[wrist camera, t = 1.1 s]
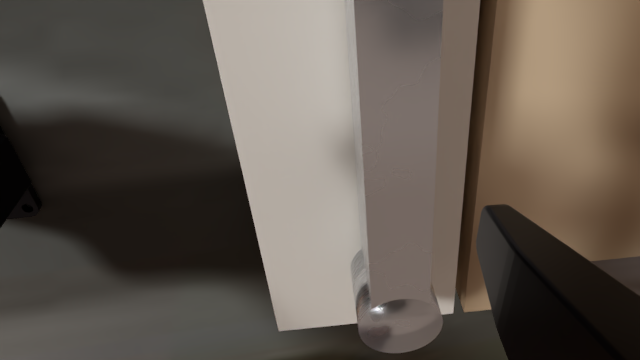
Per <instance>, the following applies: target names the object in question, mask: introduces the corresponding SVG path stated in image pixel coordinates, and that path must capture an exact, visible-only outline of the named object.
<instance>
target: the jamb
mask: <svg viewBox="0 0 640 360" xmlns="http://www.w3.org/2000/svg"><path fill="white" fill-rule="evenodd" d="M203 3H204V7H205V12H206V16H207V20H208V25H209V29H210V34H211V38H212V42H213V47H214V51H215V55H216V60H217V64H218V68H219V73H220V77H221V82H222V86H223V90H224V95H225V99H226V103H227V108H228V112H229V116H230V121H231V125H232V129H233V134H234V138H235V143H236V147H237V151H238V156H239V160H240V164H241V169H242V173H243V177H244V182H245V186H246V191H247V195H248V199H249V204H250V208H251V212H252V217H253V221H254V225H255V230H256V234H257V239H258V243H259V247H260V252H261V256H262V260H263V265H264V269H265V273H266V278H267V282H268V287H269V291H270V295H271V300H272V304H273V308H274V313H275V317H276V321H277V326H278V330H279V331H286V330H296V329H306V328H315V327H325V326H335V325H345V324H354V323H357V316H356V308H355V301H354V293H353V286H352V278H351V271H350V267H351V262H352V260H353V258H354V256H355V255H356V254H357V252H358V251H359V250H361V235H360V220H359V205H358V191H357V176H356V161H355V146H354V132H353V117H352V102H351V87H350V73H349V58H348V43H347V28H346V14H345V0H203ZM479 10H480V0H443V20H442V42H441V64H440V87H439V109H438V131H437V154H436V176H435V198H434V221H433V243H432V265H431V282H432V285H433V288H434V291H435V295H436V298H437V301H438V305H439V308H440V311H441V315H442V314H452V313H453V309H454V298H455V286H456V275H457V263H458V252H459V240H460V229H461V217H462V205H463V194H464V182H465V171H466V159H467V148H468V136H469V125H470V113H471V102H472V90H473V79H474V67H475V56H476V44H477V33H478V21H479Z"/></svg>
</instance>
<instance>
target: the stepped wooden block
mask: <svg viewBox="0 0 640 360" xmlns="http://www.w3.org/2000/svg"><path fill="white" fill-rule="evenodd" d="M497 204H507V205H509V206H511V207H512V208H514V209H515V210H517V211H518V212H520V213H521V214H523V215H524V216H525V217H527V218H528V219H530V220H531V221H533V222H534V223H536V224H537V225H539V226H540V227H541V228H543V229H544V230H546V231H547V232H549V233H550V234H552V235H553V236H554V237H556V238H557V239H559V240H560V241H562V242H563V243H565V244H566V245H568V246H569V247H570V248H572V249H573V250H575V251H576V252H578V253H579V254H581V255H582V256H583V257H585V258H586V259H588V260H589V261H591V262H592V263H594V264H595V265H597V266H598V267H599V268H601V269H602V270H604V271H605V272H607V273H608V274H610V275H611V276H612V277H614V278H615V279H617V280H618V281H620V282H621V283H623V284H624V285H625V286H627V287H628V288H630V289H631V290H633V291H634V292H636V293H637V294H639V295H640V0H480V10H479V21H478V33H477V44H476V56H475V67H474V79H473V90H472V102H471V113H470V125H469V136H468V148H467V159H466V171H465V182H464V194H463V205H462V217H461V229H460V240H459V252H458V263H457V275H456V286H455V288H456V290H457V293H458V296H459V299H460V302H461V305H462V308H463V311H464V312H471V311H481V310H491V305H490V301H489V298H488V294H487V290H486V286H485V282H484V278H483V274H482V270H481V266H480V262H479V259H478V255H477V249H476V238H477V232H478V227H479V221H480V216H481V211H482V209H483V207H485V206H486V205H497Z"/></svg>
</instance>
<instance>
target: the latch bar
mask: <svg viewBox="0 0 640 360" xmlns="http://www.w3.org/2000/svg"><path fill="white" fill-rule="evenodd" d="M345 14H346V28H347V43H348V58H349V73H350V87H351V102H352V117H353V132H354V146H355V161H356V176H357V191H358V205H359V220H360V235H361V250H359V251H358V252H357V254H356V255H355V256H354V258H353V260H352V262H351V267H350V271H351V278H352V286H353V293H354V301H355V308H356V316H357V323H358V331H359V336H360V338H361V340H362V341H363V342H364V343H365V344H366V345H367V346H368V347H370V348H372V349H374V350H377V351H380V352H385V353H404V352H409V351H413V350H416V349H419V348H421V347H423V346H425V345H427V344H428V343H430V342H431V341H433V340H434V339H435V338H436V337H437V336H438V334H439V333H440V331H441V329H442V326H443V318H442V315H441V311H440V308H439V305H438V301H437V298H436V295H435V291H434V288H433V285H432V282H431V265H432V243H433V221H434V198H435V176H436V154H437V131H438V109H439V87H440V64H441V42H442V20H443V0H345Z"/></svg>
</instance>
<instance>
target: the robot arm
mask: <svg viewBox="0 0 640 360" xmlns="http://www.w3.org/2000/svg"><path fill="white" fill-rule="evenodd" d="M26 204H28V205H30V206H32V207H29V206H27V205H26ZM41 207H42V203H41V201H40V199H39V197H38V195H37V193H36V192H35V190H34V188H33V186H32V184H31V180H30V178H29V176H28V174H27V173H26V171H25V169H24V167H23V165H22V163H21V161H20V159H19V158H18V156H17V154H16V152H15V150H14V148H13V146H12V144H11V143H10V141H9V139H8V138H7V137H6V136H5V134H4V132H3V130H2V128H1V126H0V228H1V227H2V225H3V224H4V222H5V221H6V219H13V218H23V217H32V216H35V215H37V214H38V212H39V211H40V209H41ZM476 249H477V255H478V259H479V262H480V266H481V270H482V274H483V278H484V282H485V286H486V290H487V294H488V298H489V301H490V305H491V309H492V313H493V317H494V320H495V324H496V328H497V330H498V333H499V336H500V339H501V342H502V344H503V347H504V349H505V352H506V355H507V357H508V360H640V295H639V294H637V293H636V292H634V291H633V290H631V289H630V288H628V287H627V286H625V285H624V284H623V283H621V282H620V281H618V280H617V279H615V278H614V277H612V276H611V275H610V274H608V273H607V272H605V271H604V270H602V269H601V268H599V267H598V266H597V265H595V264H594V263H592V262H591V261H589V260H588V259H586V258H585V257H583V256H582V255H581V254H579V253H578V252H576V251H575V250H573V249H572V248H570V247H569V246H568V245H566V244H565V243H563V242H562V241H560V240H559V239H557V238H556V237H554V236H553V235H552V234H550V233H549V232H547V231H546V230H544V229H543V228H541V227H540V226H539V225H537V224H536V223H534V222H533V221H531V220H530V219H528V218H527V217H525V216H524V215H523V214H521V213H520V212H518V211H517V210H515V209H514V208H512V207H511V206H509V205H507V204H497V205H486V206H485V207H483V209H482V211H481V216H480V221H479V227H478V232H477V238H476Z"/></svg>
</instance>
